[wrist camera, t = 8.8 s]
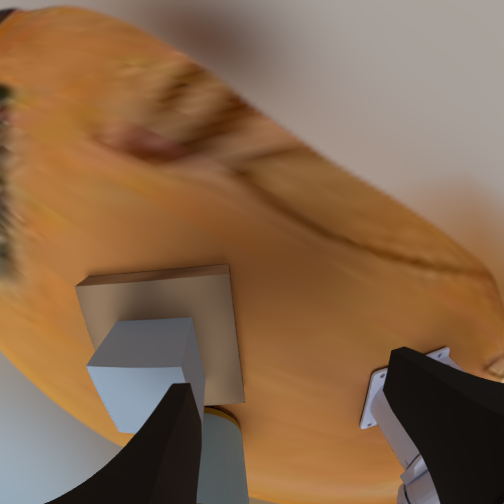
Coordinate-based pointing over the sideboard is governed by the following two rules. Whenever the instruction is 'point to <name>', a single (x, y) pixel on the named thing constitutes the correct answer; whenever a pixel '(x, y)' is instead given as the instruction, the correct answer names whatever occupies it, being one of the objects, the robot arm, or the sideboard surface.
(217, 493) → the bottle
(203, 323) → the base slab
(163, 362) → the cube
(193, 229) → the sideboard surface
